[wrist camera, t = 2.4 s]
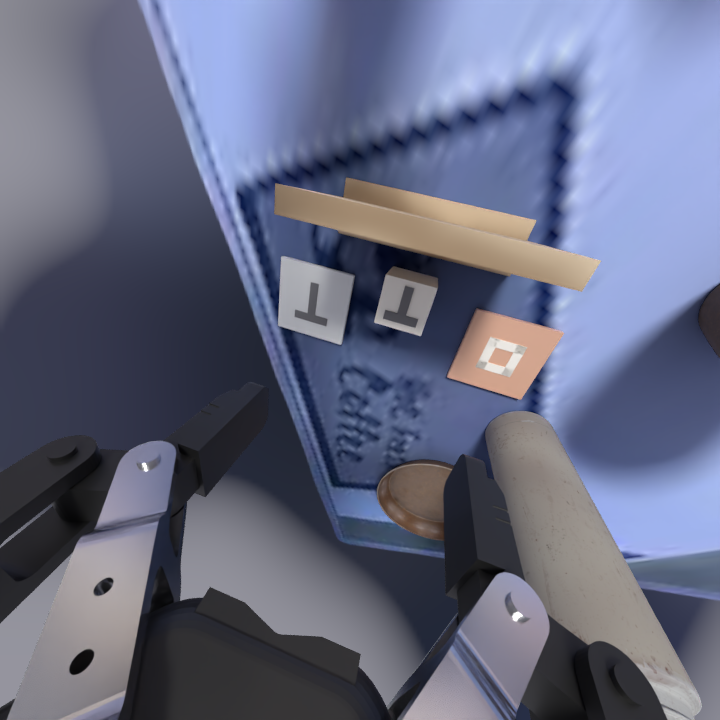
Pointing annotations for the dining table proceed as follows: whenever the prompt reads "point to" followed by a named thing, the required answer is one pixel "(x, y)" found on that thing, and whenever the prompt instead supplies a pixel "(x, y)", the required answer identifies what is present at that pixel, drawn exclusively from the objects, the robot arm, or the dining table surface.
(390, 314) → the letter cube
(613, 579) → the thermos bottle
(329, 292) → the pad
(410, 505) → the plant saucer
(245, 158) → the dining table surface
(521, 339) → the pad
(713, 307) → the plant pot
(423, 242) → the screen
